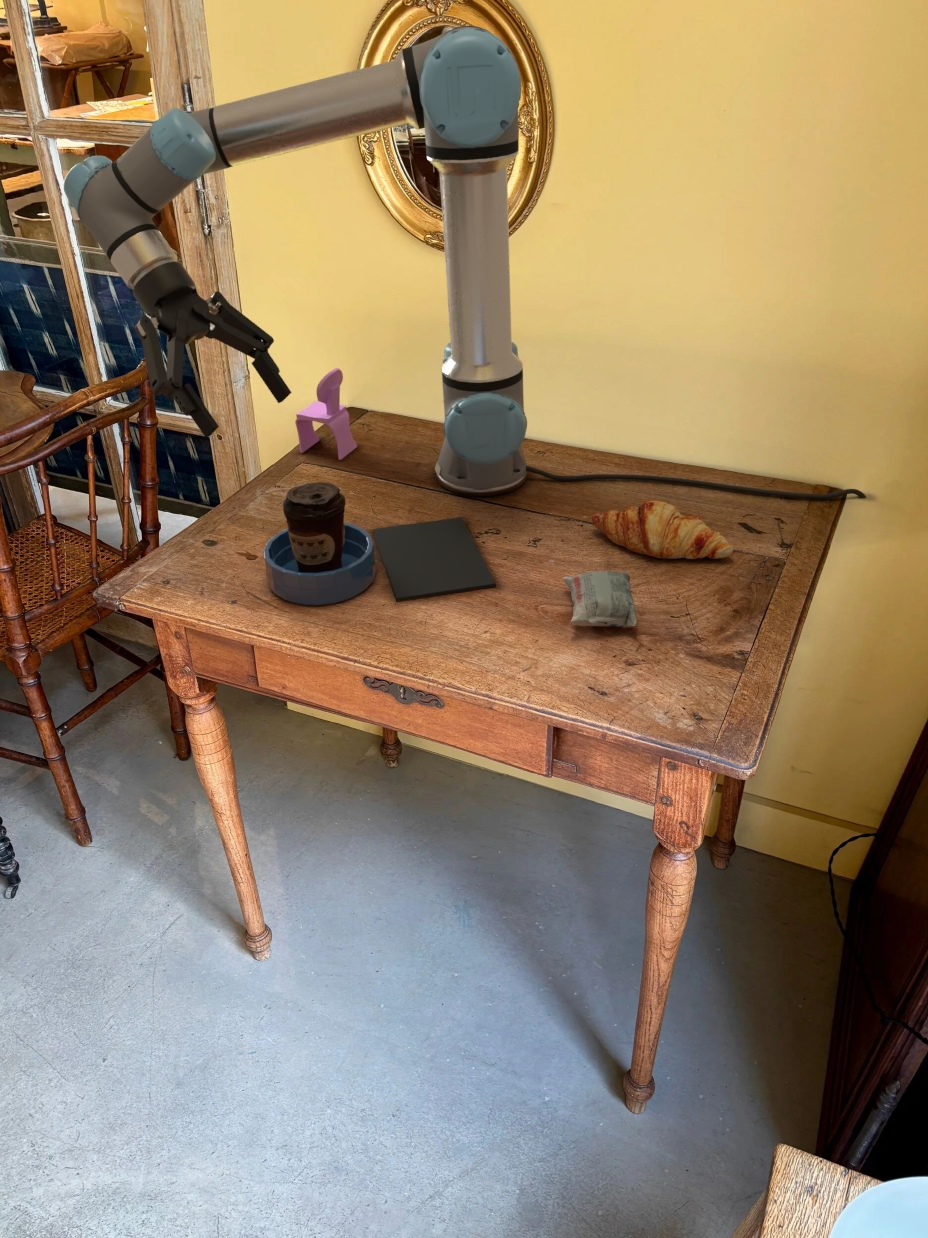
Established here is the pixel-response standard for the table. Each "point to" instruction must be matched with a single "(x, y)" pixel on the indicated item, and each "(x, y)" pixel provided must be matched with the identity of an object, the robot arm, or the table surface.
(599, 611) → the packaged food
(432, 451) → the table surface
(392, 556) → the mat
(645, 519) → the croissant
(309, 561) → the coffee cup
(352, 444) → the toy chair
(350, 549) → the bowl
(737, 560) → the table surface
